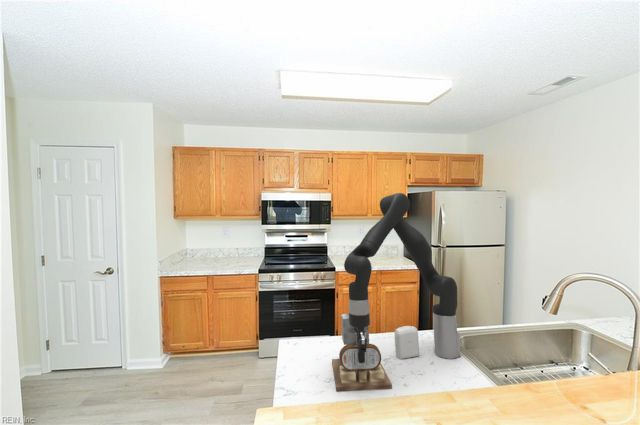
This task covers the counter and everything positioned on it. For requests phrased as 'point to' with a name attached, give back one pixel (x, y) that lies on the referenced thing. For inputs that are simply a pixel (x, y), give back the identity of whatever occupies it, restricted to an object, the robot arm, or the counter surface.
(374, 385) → the display stand
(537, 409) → the counter surface
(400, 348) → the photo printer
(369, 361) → the tin
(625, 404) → the counter surface
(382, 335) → the counter surface
